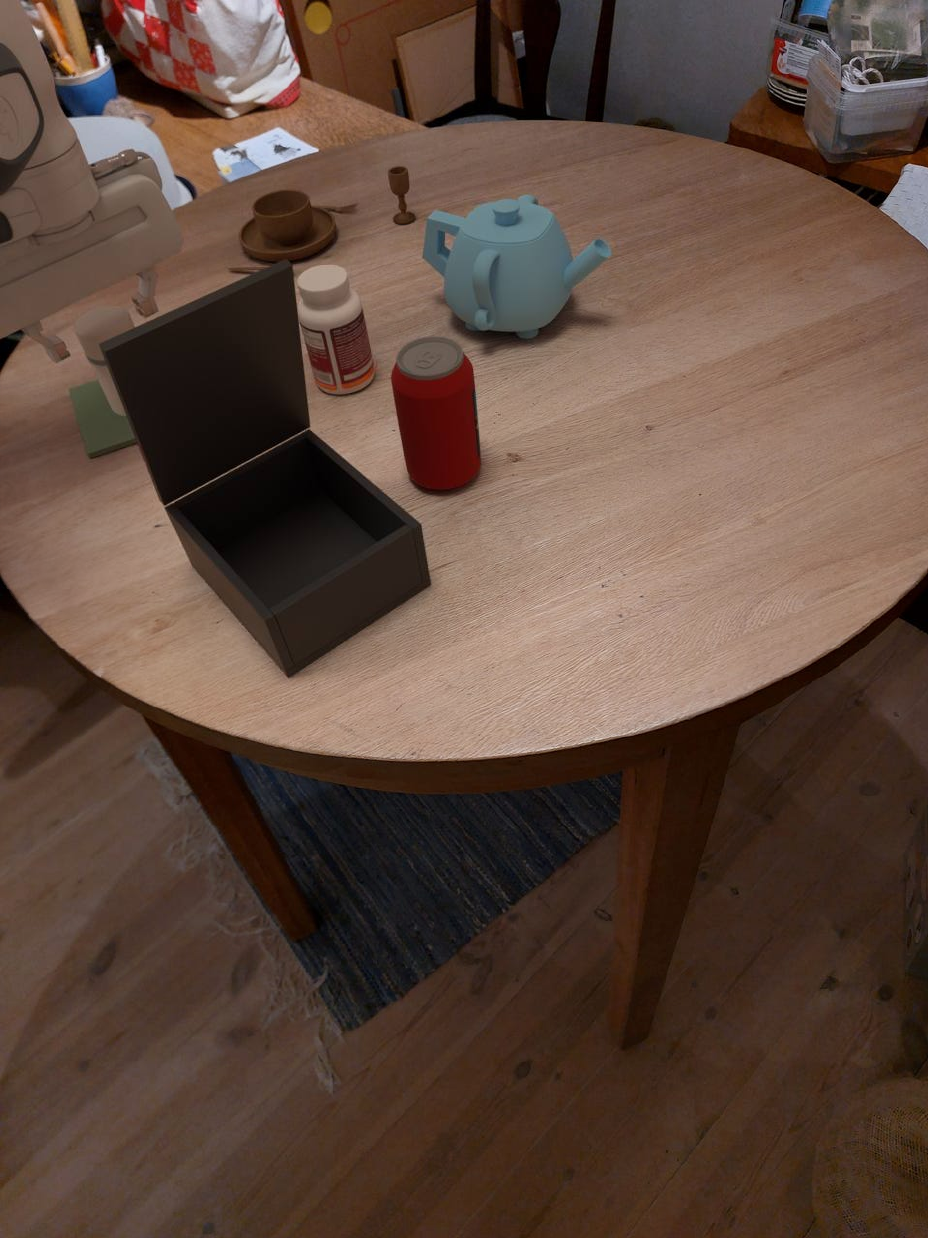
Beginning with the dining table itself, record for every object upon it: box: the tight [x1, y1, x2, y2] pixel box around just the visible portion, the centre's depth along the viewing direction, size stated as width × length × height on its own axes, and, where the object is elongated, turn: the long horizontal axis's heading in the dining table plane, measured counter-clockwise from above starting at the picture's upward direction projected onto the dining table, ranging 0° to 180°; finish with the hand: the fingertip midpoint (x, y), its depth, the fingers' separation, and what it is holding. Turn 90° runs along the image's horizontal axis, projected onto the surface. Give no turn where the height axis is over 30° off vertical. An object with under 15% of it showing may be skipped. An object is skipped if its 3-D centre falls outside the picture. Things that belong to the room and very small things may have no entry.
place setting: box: [227, 165, 417, 272], centre depth 104 cm, size 18×20×6 cm
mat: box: [68, 379, 137, 459], centre depth 88 cm, size 12×12×1 cm
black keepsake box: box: [164, 428, 432, 678], centre depth 69 cm, size 16×14×7 cm
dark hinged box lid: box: [99, 259, 311, 507], centre depth 63 cm, size 16×14×1 cm
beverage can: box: [390, 336, 482, 490], centre depth 74 cm, size 7×7×12 cm
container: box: [73, 305, 136, 416], centre depth 84 cm, size 5×5×9 cm
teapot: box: [421, 194, 612, 339], centre depth 89 cm, size 20×17×12 cm
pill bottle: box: [296, 264, 376, 395], centre depth 84 cm, size 6×6×11 cm
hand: (105, 335), depth 82 cm, fingers open, 8 cm apart
